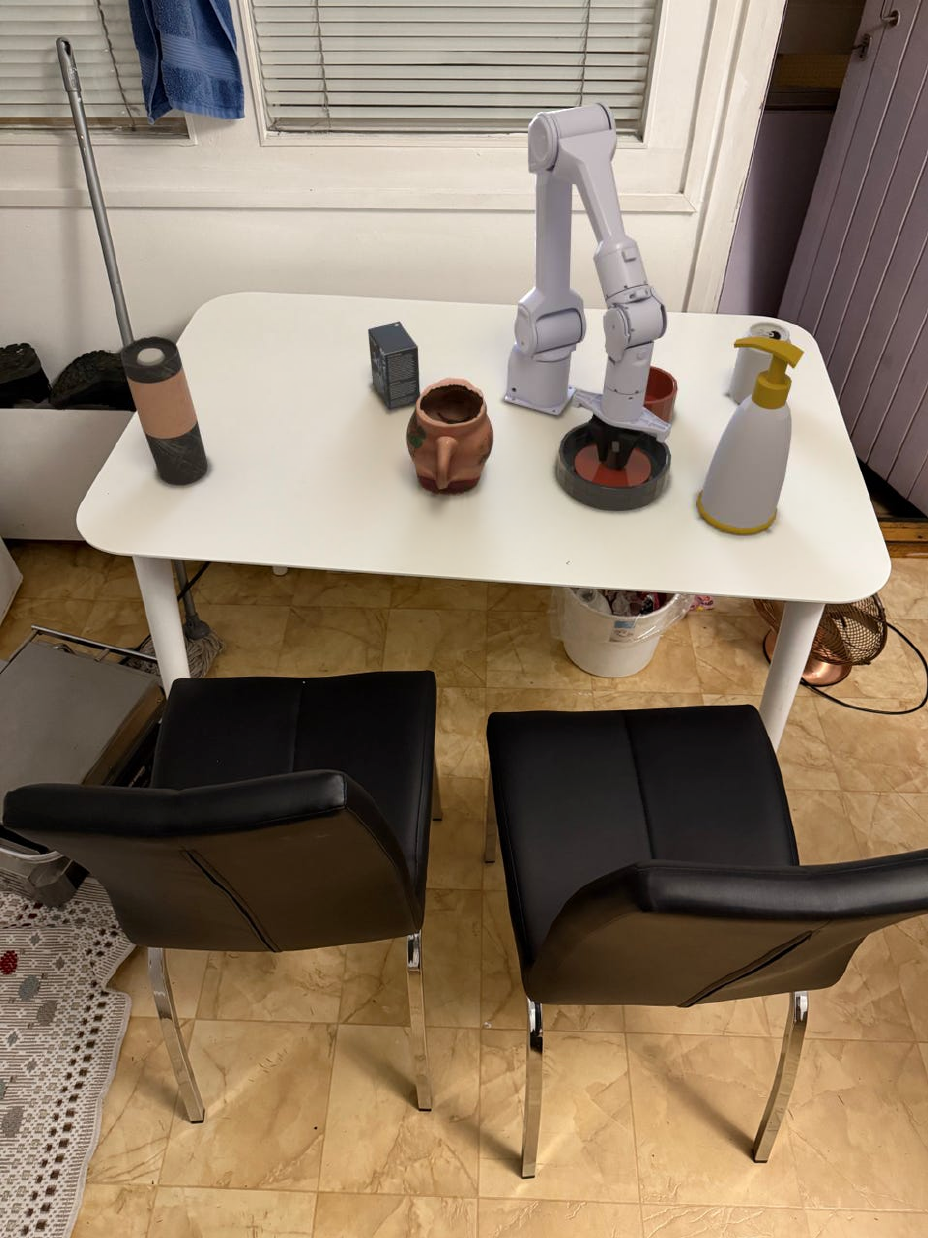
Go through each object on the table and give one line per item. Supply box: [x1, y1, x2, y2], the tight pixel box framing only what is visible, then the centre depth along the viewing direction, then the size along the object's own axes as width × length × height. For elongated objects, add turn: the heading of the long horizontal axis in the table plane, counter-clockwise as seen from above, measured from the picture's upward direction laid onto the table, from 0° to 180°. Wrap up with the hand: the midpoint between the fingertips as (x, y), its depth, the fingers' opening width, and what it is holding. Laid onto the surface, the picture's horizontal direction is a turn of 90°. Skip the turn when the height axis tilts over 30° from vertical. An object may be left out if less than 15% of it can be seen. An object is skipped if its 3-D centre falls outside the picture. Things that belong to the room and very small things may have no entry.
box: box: [367, 321, 421, 411], centre depth 145 cm, size 8×6×11 cm
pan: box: [556, 421, 672, 512], centre depth 134 cm, size 16×16×4 cm
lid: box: [574, 441, 651, 487], centre depth 134 cm, size 11×11×4 cm
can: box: [728, 321, 792, 405], centre depth 144 cm, size 8×8×12 cm
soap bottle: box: [696, 336, 805, 536], centre depth 121 cm, size 11×12×26 cm
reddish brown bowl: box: [643, 365, 679, 424], centre depth 144 cm, size 10×10×5 cm
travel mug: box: [120, 336, 208, 486], centre depth 129 cm, size 8×8×20 cm
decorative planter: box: [405, 377, 494, 496], centre depth 129 cm, size 20×12×14 cm, turn 0°
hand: (613, 462), depth 134 cm, fingers closed on lid, 2 cm apart
